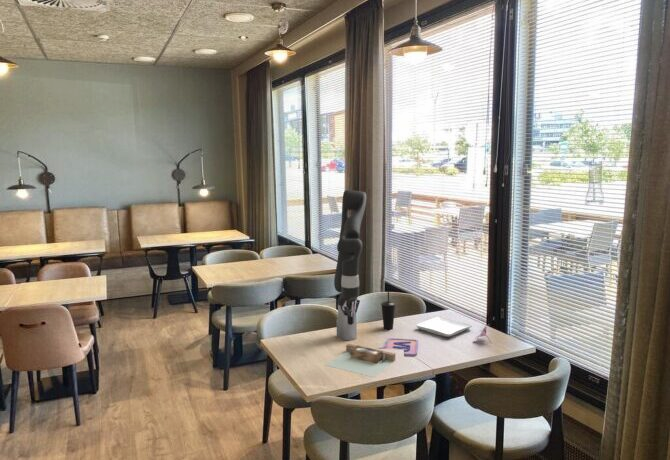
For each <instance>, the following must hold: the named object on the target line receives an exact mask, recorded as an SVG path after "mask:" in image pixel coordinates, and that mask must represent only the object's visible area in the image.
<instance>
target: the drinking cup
mask: <svg viewBox="0 0 670 460" xmlns="http://www.w3.org/2000/svg"><path fill="white" fill-rule="evenodd" d="M396 304H397V303H396V302H395V301H392V300H390V290H389V291H387V300H384V301H382V302H380V305H381V312H382V324H383V329H384V330H385V331H386V330H387V331H391V330H393V329H394V320H395V310H396Z"/></svg>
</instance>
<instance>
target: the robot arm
mask: <svg viewBox="0 0 670 460" xmlns="http://www.w3.org/2000/svg"><path fill="white" fill-rule="evenodd" d="M366 207H367V193H366V192H365V191H362V190H352V189H345V190H344V191H343V193H342V201H341V223H340V231H339V232H340V233H339V239H338V242H337V246H336V249H337V261H336V269H335V272H334V279H333V282H334V283H333V285H334V289H335V291H336V292H337V293H341V296H339V297H338V299H337V318H336V338H338V339H339V340H342V341H353V340H357V334H358V333H357V330H358V329H357V325H358V324H357V322H358V321H357V312H358V309H359V306H360V302H361V300H360V299H358V297H359V296H360V275H359V264H360V258H361V254H362V251H363V246H364V245H363V242H362V240H361V239H360V236H361V235H360V234H361V225H362V221H363V218H364V214H365V211H366ZM350 211H355V212H354V213H352V214H351V215H350V213H349V212H350Z"/></svg>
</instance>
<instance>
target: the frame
mask: <svg viewBox="0 0 670 460" xmlns="http://www.w3.org/2000/svg"><path fill="white" fill-rule="evenodd" d="M356 345H357V344H356ZM383 351H384V350H382V349H375V348H372V347H367V346H362V345H359V344H358V345H357V346H355V347H354V348H352V349H351V358H354V359H358V360H363V361H367V362H371V363H376V364H377V363H378V362H380V361H381V360H382V355H383Z"/></svg>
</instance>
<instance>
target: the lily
mask: <svg viewBox="0 0 670 460" xmlns="http://www.w3.org/2000/svg"><path fill="white" fill-rule="evenodd" d="M488 327H489V325H488V324H486V325H485V327H483V328H482V329H480V330H479V332H480V334H478V335H477V336H476V337H475V338H474V339H473V341H475V340H476V339H478V338H479V337H486V338H487V339H488V340H489V342H490V343H492V341H491V339H490V337H489V336H488V335H487V328H488Z"/></svg>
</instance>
